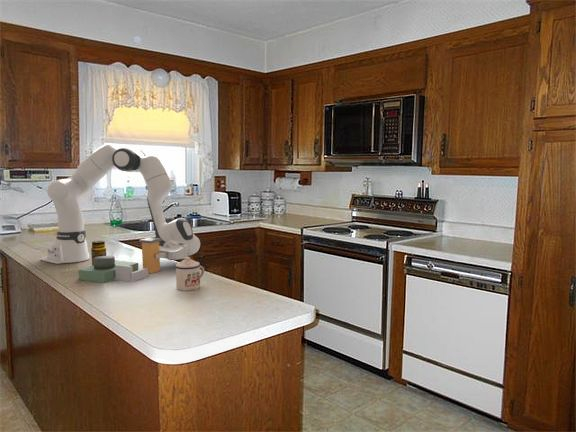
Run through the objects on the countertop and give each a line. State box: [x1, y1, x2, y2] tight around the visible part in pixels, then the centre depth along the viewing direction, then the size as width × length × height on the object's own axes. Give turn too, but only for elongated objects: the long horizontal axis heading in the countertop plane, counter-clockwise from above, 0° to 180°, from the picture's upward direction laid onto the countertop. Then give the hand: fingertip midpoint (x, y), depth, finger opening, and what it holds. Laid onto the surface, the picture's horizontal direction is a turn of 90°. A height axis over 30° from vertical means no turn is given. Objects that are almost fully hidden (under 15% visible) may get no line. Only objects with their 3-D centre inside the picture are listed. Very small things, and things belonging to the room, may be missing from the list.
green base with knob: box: [77, 255, 149, 284], centre depth 183 cm, size 22×19×8 cm
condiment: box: [90, 240, 107, 266], centre depth 197 cm, size 7×8×12 cm
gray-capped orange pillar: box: [138, 237, 162, 274], centre depth 191 cm, size 6×6×14 cm
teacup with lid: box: [174, 256, 205, 292], centre depth 168 cm, size 12×9×12 cm
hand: (149, 255), depth 191 cm, fingers closed on gray-capped orange pillar, 5 cm apart
